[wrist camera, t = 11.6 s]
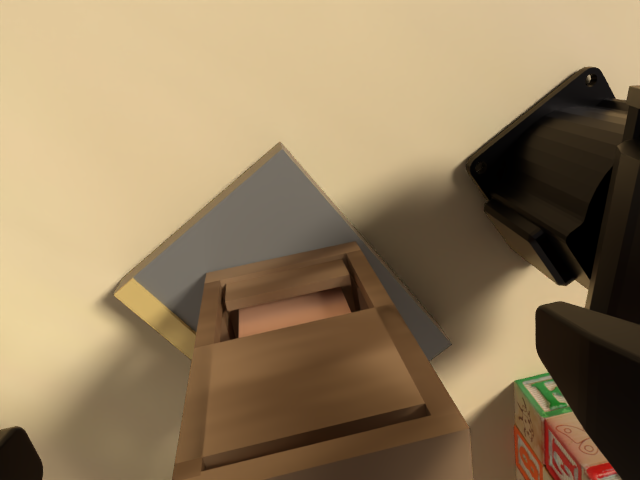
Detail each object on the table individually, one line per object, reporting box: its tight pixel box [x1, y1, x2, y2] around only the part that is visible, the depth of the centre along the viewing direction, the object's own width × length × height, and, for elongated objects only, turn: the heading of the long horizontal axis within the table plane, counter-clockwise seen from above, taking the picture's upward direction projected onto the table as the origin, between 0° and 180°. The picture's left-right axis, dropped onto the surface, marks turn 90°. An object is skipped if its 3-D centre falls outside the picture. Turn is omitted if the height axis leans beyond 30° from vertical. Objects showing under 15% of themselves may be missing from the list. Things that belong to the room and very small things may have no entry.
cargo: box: [239, 287, 351, 338], centre depth 18 cm, size 4×4×4 cm
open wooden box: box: [172, 241, 473, 480], centre depth 16 cm, size 6×6×11 cm
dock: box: [113, 142, 452, 361], centre depth 22 cm, size 9×12×2 cm
